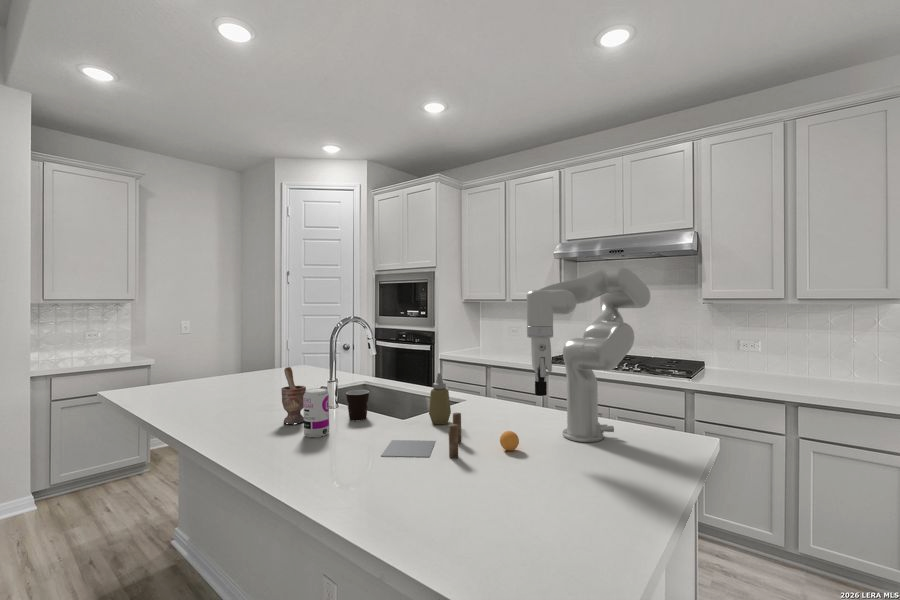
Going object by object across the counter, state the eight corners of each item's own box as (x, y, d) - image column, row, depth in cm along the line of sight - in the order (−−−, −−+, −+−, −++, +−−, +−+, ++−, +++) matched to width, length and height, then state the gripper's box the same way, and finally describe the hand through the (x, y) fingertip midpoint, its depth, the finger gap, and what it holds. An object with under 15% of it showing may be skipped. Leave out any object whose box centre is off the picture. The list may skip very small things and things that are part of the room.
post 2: (458, 455, 125) (458, 424, 125) (458, 458, 122) (457, 426, 122) (449, 455, 125) (449, 423, 125) (448, 458, 122) (448, 426, 123)
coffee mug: (364, 422, 161) (363, 395, 161) (342, 421, 163) (342, 394, 163) (375, 413, 172) (375, 388, 172) (355, 413, 174) (355, 388, 174)
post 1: (461, 441, 137) (461, 412, 137) (461, 443, 135) (460, 414, 135) (453, 440, 138) (453, 412, 138) (452, 443, 135) (452, 414, 135)
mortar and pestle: (271, 422, 162) (270, 369, 162) (291, 417, 170) (290, 366, 170) (291, 426, 156) (291, 371, 156) (311, 421, 164) (310, 368, 164)
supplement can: (332, 431, 150) (332, 387, 150) (323, 438, 142) (322, 393, 142) (310, 430, 151) (309, 387, 151) (299, 438, 143) (299, 392, 143)
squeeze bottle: (441, 427, 153) (441, 376, 153) (424, 423, 158) (423, 374, 158) (455, 421, 159) (454, 372, 159) (438, 418, 164) (437, 370, 164)
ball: (518, 447, 131) (518, 428, 131) (519, 453, 125) (519, 434, 125) (499, 446, 132) (499, 428, 132) (500, 453, 126) (499, 434, 126)
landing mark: (435, 441, 138) (435, 440, 138) (429, 457, 124) (429, 456, 124) (392, 440, 139) (392, 440, 139) (380, 456, 125) (380, 455, 125)
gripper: (556, 334, 120) (557, 400, 120) (549, 330, 135) (550, 389, 135) (529, 334, 120) (530, 400, 120) (525, 330, 135) (525, 389, 135)
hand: (540, 394), depth 127 cm, fingers closed
